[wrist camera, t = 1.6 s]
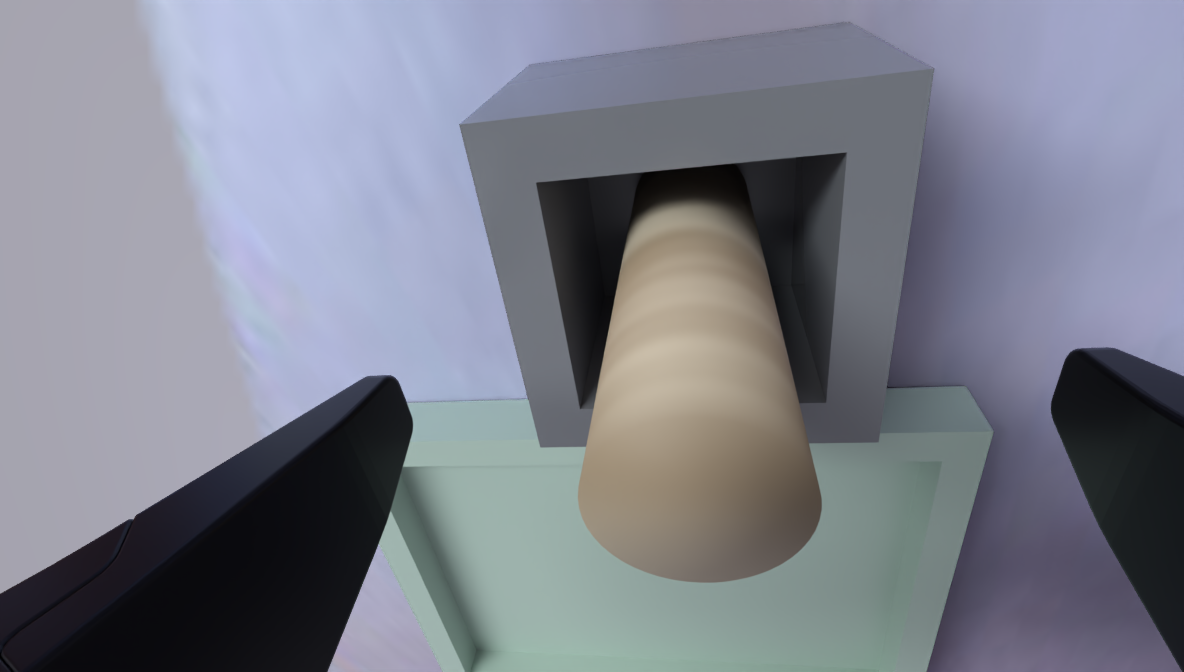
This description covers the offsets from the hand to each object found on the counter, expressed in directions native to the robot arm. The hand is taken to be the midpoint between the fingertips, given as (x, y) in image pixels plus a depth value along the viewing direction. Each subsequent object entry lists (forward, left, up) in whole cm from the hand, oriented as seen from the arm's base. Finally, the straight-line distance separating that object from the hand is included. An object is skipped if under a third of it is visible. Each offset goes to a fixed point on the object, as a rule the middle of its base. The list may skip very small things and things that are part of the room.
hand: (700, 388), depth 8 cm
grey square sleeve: (0, 0, -7) cm, 7 cm away
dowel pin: (0, 0, -7) cm, 7 cm away
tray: (-13, +2, -7) cm, 15 cm away
